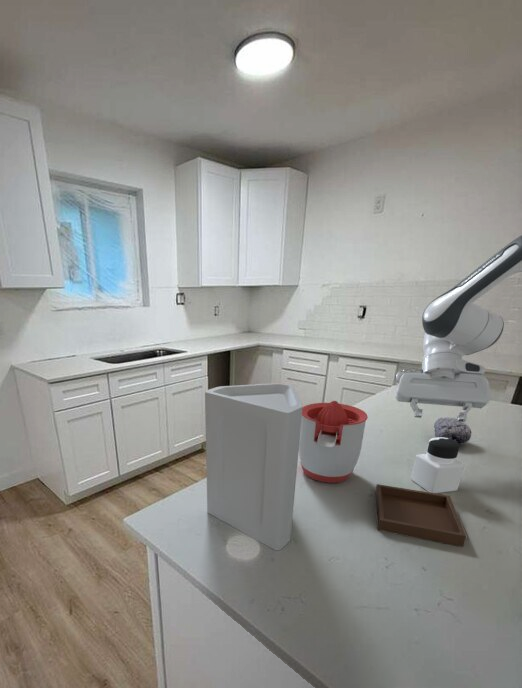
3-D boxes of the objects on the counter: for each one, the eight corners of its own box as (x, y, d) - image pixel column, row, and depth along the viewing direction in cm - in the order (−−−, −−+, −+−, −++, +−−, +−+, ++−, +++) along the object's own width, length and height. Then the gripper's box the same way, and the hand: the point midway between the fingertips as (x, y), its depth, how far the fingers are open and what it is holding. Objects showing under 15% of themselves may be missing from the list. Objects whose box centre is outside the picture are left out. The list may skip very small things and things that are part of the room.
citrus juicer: (287, 484, 91) (293, 409, 83) (301, 455, 105) (307, 389, 97) (354, 497, 84) (368, 417, 77) (359, 464, 99) (370, 394, 91)
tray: (446, 505, 81) (449, 495, 80) (463, 547, 68) (466, 536, 67) (374, 493, 86) (376, 484, 85) (377, 530, 73) (380, 519, 72)
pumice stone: (458, 458, 105) (474, 441, 109) (462, 437, 101) (479, 420, 105) (421, 445, 113) (438, 430, 117) (423, 425, 109) (441, 410, 113)
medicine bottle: (458, 491, 86) (471, 445, 81) (431, 494, 85) (443, 448, 80) (435, 476, 92) (446, 433, 87) (409, 479, 91) (420, 435, 86)
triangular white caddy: (316, 517, 78) (331, 392, 67) (278, 551, 69) (288, 413, 58) (246, 485, 91) (249, 376, 80) (205, 511, 81) (202, 391, 70)
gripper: (399, 362, 96) (395, 408, 92) (492, 367, 89) (493, 417, 84) (394, 375, 102) (391, 419, 97) (482, 380, 94) (482, 428, 90)
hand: (439, 418), depth 91 cm, fingers open, 8 cm apart
